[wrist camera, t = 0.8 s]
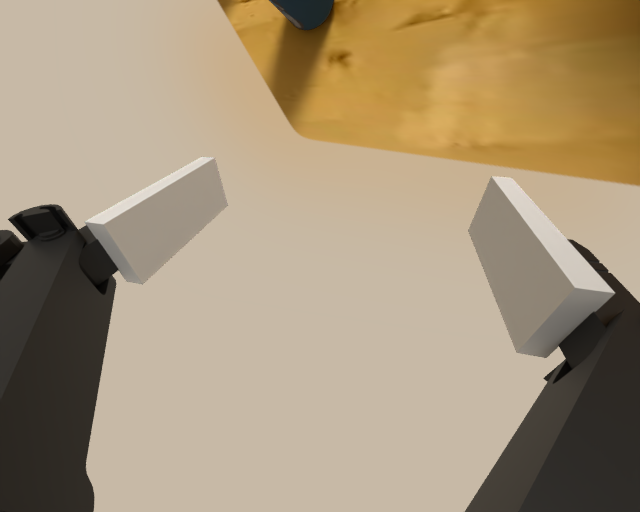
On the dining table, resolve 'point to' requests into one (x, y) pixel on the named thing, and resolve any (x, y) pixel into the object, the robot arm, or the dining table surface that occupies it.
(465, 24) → the dining table surface
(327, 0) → the soda can
